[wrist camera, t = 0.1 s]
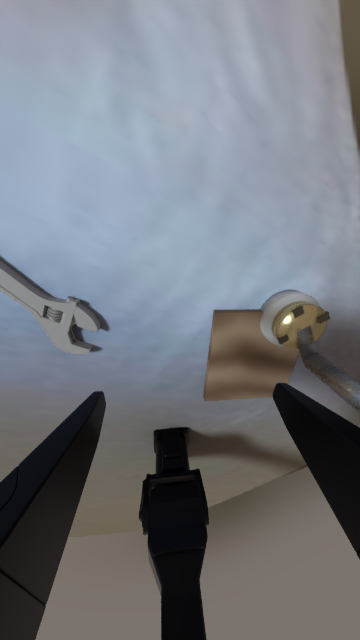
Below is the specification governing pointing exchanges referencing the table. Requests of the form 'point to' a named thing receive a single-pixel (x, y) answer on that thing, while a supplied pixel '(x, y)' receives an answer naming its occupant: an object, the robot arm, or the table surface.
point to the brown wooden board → (249, 351)
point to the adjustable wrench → (50, 311)
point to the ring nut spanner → (313, 346)
